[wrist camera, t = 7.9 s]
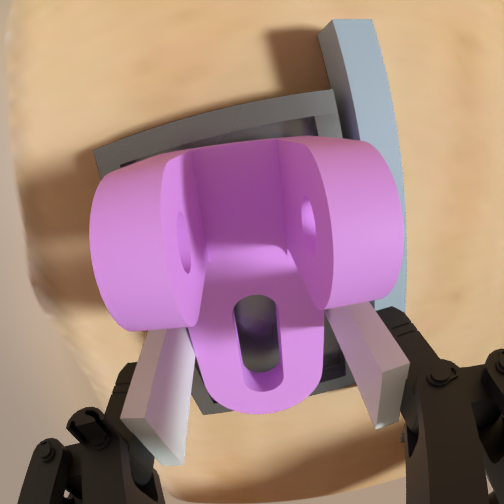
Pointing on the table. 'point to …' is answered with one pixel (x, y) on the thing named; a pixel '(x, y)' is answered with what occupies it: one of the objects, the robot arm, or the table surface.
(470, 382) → the robot arm
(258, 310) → the shallow rectangular tray
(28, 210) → the table surface
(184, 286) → the bracket
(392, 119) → the door edge
